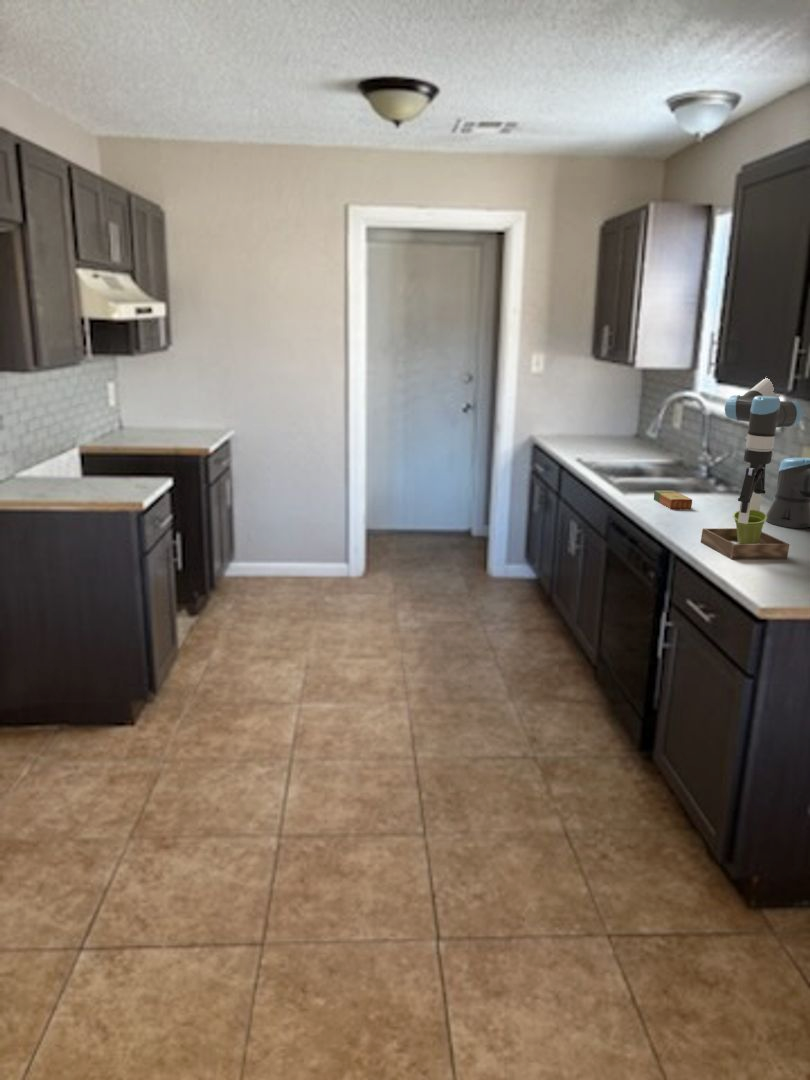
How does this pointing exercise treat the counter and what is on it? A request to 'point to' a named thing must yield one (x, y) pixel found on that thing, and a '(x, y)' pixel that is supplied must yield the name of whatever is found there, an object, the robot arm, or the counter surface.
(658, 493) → the carton
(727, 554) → the brown wooden square tray
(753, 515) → the plant pot
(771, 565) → the counter surface
